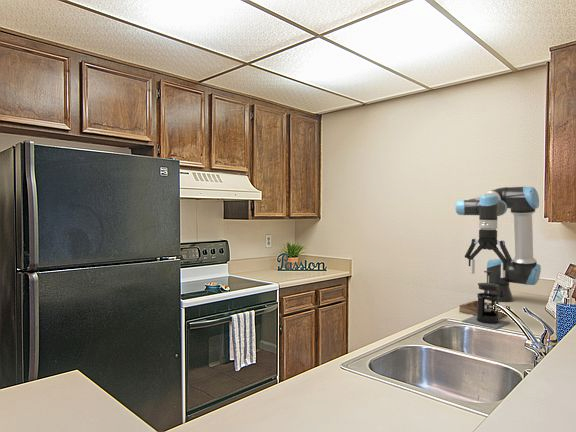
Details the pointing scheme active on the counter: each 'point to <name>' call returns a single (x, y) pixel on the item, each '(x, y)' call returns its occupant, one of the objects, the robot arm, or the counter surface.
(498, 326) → the mat
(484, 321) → the french press
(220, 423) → the counter surface
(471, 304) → the cradle
